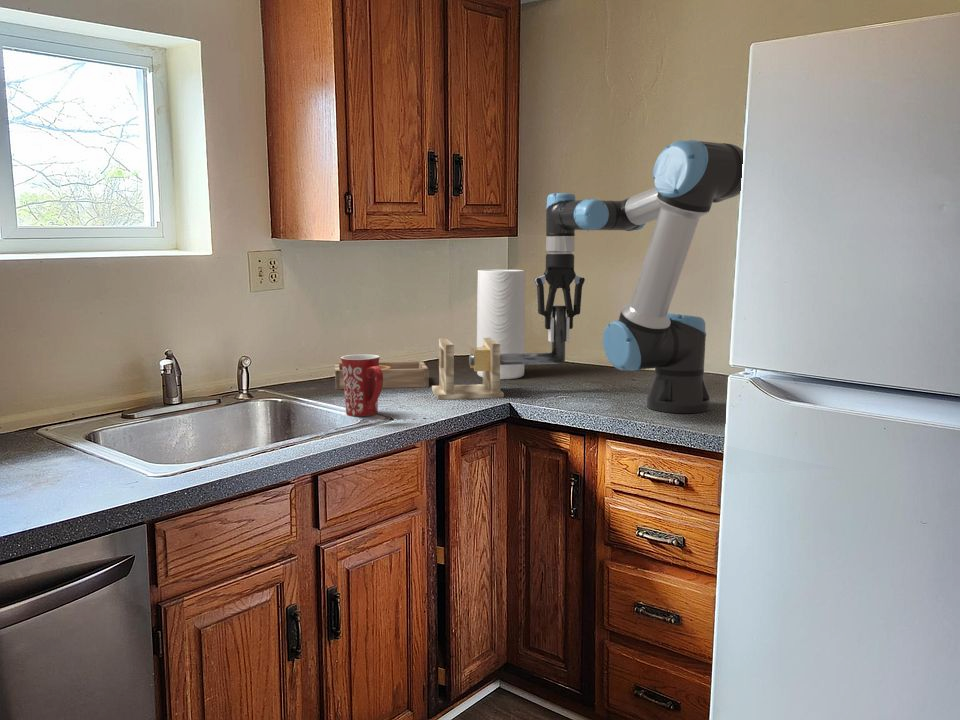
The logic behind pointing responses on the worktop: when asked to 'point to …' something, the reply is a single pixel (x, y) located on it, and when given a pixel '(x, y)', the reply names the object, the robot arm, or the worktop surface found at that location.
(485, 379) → the jig
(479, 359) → the block
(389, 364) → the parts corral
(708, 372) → the worktop surface
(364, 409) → the mug
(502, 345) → the paper towel roll
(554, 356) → the shaft
